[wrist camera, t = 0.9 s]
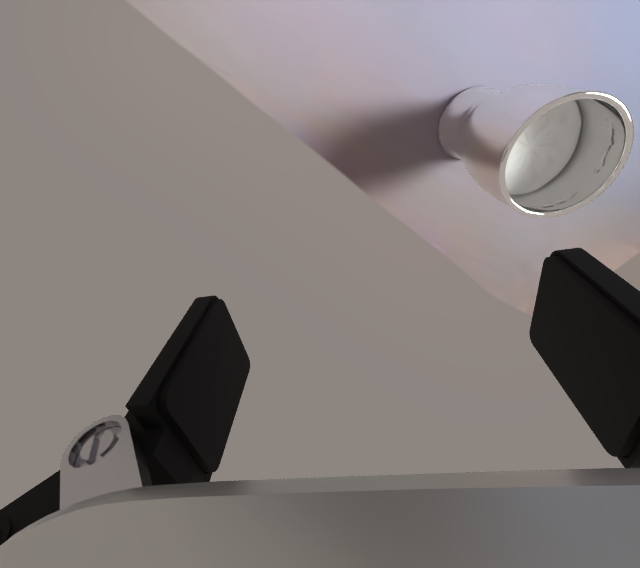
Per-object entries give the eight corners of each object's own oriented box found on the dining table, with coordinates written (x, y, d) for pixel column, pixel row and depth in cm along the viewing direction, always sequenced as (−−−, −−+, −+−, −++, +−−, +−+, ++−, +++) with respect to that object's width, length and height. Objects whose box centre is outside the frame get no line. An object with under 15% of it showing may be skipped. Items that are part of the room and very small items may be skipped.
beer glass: (423, 157, 32) (475, 211, 19) (448, 73, 28) (534, 73, 15) (491, 168, 32) (587, 230, 20) (526, 87, 28) (673, 98, 16)
